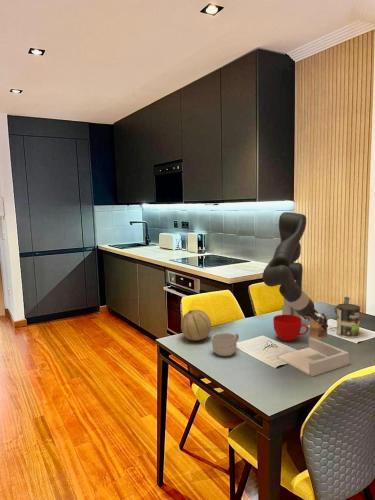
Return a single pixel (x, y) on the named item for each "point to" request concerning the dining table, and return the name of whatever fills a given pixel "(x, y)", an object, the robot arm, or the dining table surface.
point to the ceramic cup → (288, 327)
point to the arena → (317, 358)
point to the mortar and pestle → (346, 301)
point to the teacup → (225, 343)
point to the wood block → (317, 329)
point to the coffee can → (348, 320)
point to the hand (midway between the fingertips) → (321, 326)
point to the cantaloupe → (196, 325)
